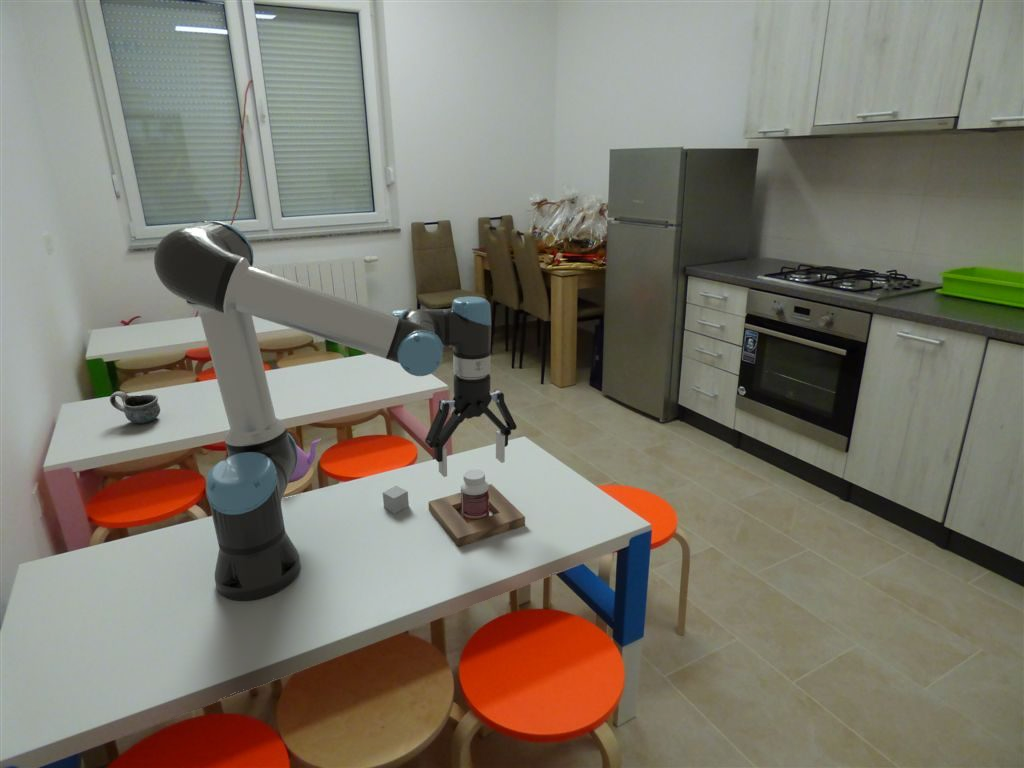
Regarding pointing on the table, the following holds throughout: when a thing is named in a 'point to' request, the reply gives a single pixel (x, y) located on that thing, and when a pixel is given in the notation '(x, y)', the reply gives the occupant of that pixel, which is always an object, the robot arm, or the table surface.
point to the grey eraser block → (395, 499)
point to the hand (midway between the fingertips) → (472, 466)
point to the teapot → (304, 462)
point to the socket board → (479, 529)
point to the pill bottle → (474, 495)
